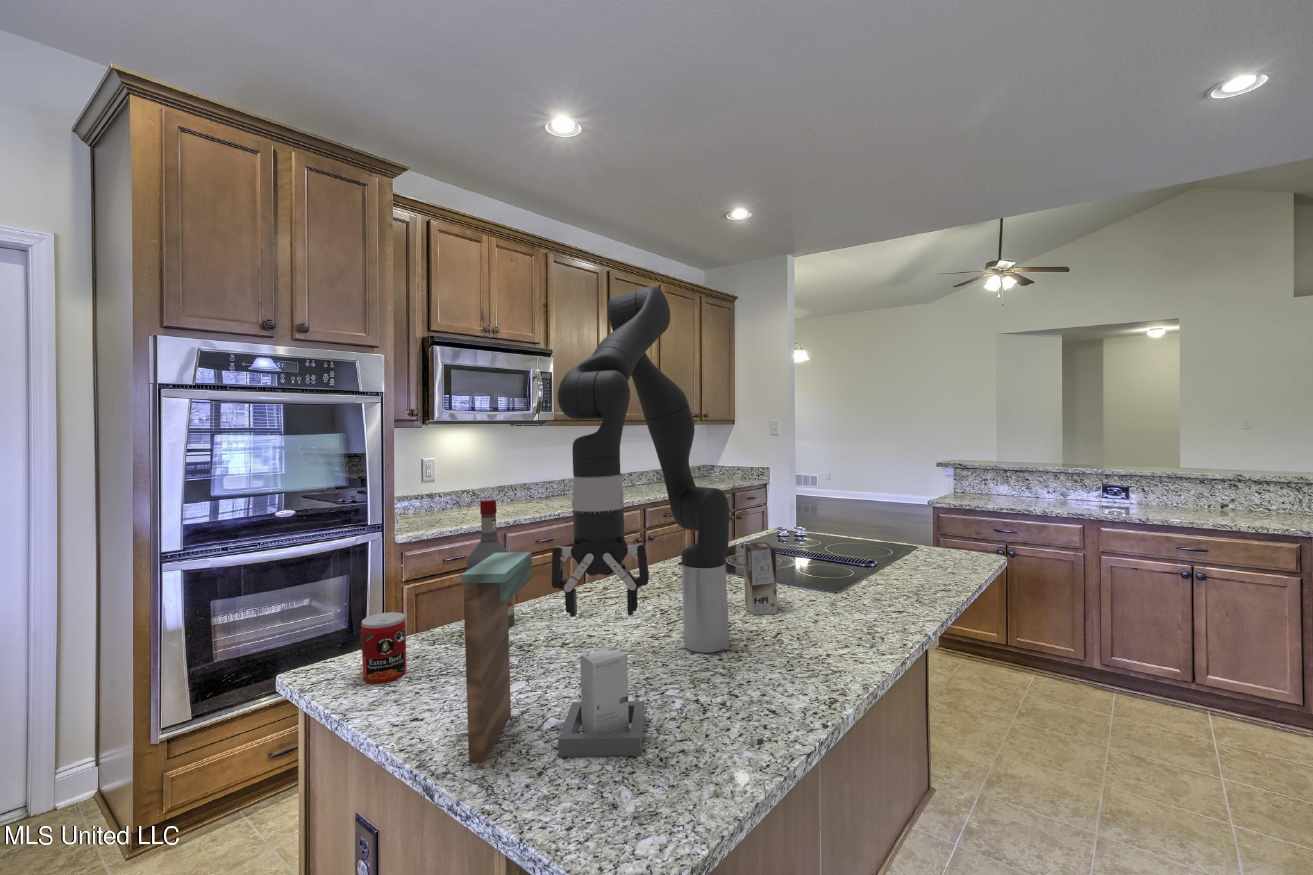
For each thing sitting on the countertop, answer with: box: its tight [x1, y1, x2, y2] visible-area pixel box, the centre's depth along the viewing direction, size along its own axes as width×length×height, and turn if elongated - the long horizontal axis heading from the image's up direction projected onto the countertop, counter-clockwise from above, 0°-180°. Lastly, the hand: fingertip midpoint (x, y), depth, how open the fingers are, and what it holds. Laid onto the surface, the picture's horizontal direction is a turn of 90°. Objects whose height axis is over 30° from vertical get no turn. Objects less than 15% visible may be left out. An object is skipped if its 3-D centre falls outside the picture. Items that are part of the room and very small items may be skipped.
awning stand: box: [461, 551, 533, 764], centre depth 90 cm, size 6×15×26 cm, turn 178°
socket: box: [557, 700, 646, 758], centre depth 89 cm, size 12×12×2 cm
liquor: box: [466, 499, 516, 628], centre depth 142 cm, size 9×9×30 cm
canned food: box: [360, 611, 408, 684], centre depth 115 cm, size 8×8×11 cm
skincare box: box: [579, 647, 630, 733], centre depth 89 cm, size 6×4×12 cm
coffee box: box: [742, 541, 778, 616], centre depth 150 cm, size 9×6×16 cm
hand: (602, 614), depth 89 cm, fingers open, 8 cm apart
